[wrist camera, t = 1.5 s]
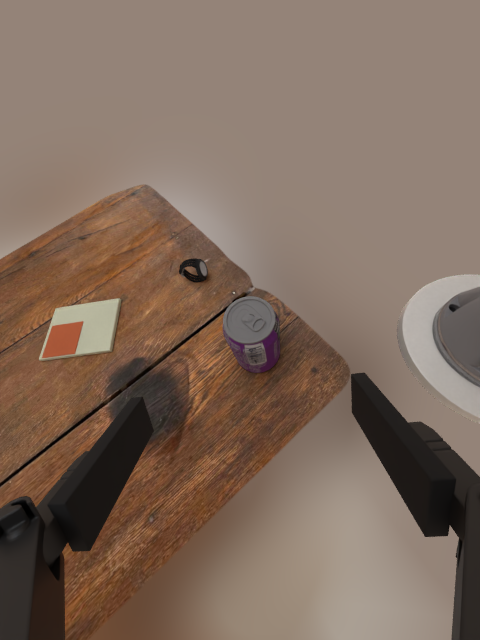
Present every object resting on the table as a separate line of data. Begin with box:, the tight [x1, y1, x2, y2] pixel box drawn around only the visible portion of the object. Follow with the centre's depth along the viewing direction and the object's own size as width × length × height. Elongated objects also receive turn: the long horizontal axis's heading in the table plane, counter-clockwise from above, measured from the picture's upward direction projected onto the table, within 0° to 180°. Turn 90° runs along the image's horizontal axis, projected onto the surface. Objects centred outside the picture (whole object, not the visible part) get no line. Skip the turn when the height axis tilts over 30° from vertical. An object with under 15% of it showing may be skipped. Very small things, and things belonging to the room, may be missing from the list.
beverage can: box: [223, 296, 280, 373], centre depth 33 cm, size 7×7×12 cm
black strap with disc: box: [179, 259, 208, 282], centre depth 45 cm, size 4×5×5 cm
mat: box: [39, 298, 122, 361], centre depth 45 cm, size 14×11×1 cm
